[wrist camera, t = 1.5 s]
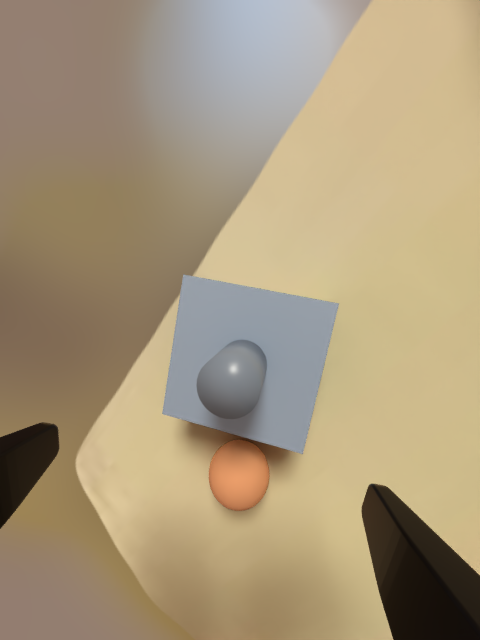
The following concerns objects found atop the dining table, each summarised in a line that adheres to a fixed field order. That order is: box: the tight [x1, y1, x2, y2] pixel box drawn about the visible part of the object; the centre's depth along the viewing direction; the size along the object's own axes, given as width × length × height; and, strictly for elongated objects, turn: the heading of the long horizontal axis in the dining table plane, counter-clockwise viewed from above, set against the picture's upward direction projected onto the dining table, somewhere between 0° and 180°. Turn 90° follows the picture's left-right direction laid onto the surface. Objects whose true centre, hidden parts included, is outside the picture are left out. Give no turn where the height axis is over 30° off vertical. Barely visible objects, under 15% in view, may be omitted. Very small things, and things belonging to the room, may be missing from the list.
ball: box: [209, 440, 269, 511], centre depth 21 cm, size 5×5×5 cm
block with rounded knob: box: [162, 275, 339, 454], centre depth 17 cm, size 10×10×10 cm
